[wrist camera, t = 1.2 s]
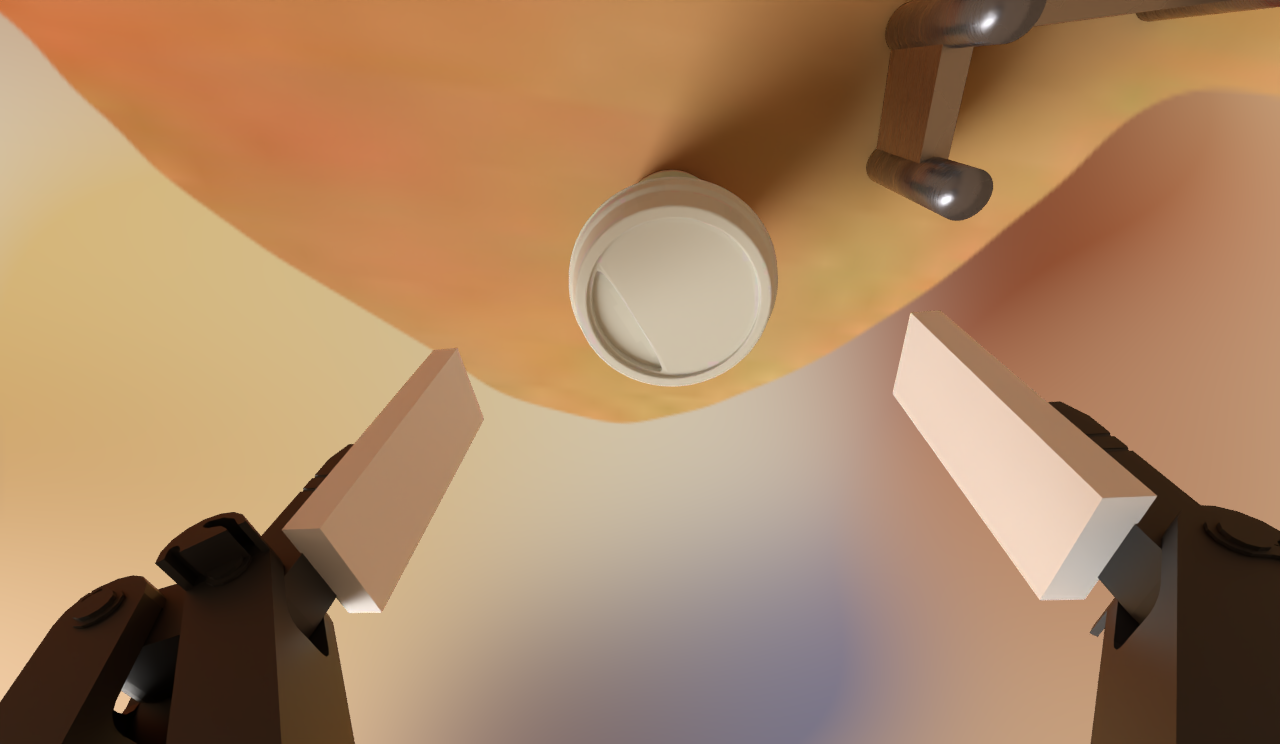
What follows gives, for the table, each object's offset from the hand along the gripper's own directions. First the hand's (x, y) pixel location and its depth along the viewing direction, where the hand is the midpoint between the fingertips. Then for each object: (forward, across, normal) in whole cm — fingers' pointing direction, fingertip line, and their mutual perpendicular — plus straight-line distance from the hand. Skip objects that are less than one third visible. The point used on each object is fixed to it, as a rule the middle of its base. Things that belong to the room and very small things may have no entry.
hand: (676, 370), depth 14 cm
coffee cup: (+16, 0, 0) cm, 17 cm away
